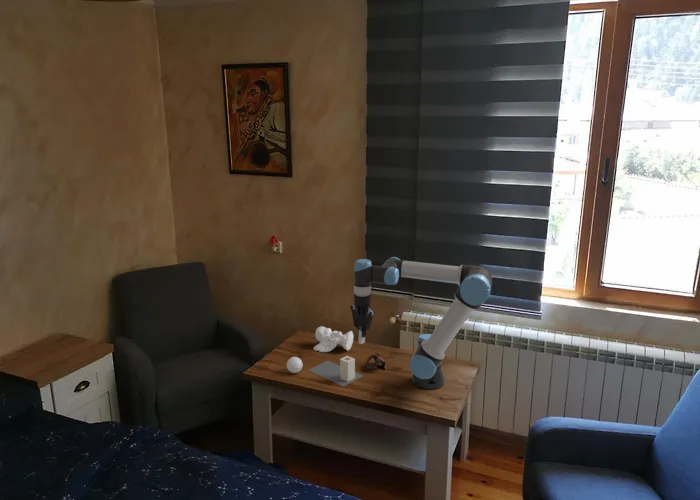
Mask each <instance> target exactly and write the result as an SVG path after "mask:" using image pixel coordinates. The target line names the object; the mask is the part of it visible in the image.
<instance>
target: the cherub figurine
mask: <svg viewBox="0 0 700 500" xmlns="http://www.w3.org/2000/svg"><path fill="white" fill-rule="evenodd" d="M314 336H315V339H316V340H317V341H319V343H318V344H316V345H314V347H313V350H314V351H316V352H317V351H319V352H320V353H329V352H331V351H332V350H334V349H335V348H336V347H337V345H341V347H342V348H343V349H344V350H346V351H350V349H351V348H352V346H353V343H354V332H353V331H352V330H350V331H347V332H346V333H344V334H343V333H342V331H337V330H333V331H332V329H331V328H330V327H325V326H323V325H321V326H319V327H317V328H316V329H315V334H314Z"/></svg>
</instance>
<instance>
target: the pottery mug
mask: <svg viewBox="0 0 700 500" xmlns="http://www.w3.org/2000/svg"><path fill="white" fill-rule="evenodd" d="M372 359H373V360H374V362H373V363H369V362H370V360H372ZM365 365H366V366H365V367H366V369H369V370H373V369H376V370H377V369H378V367H377V365H378V366H381V367H384V370H385V371H386V370H387V369H388V368H387V364H386V361H385V359H384V358H383V357H382V356H381V354H380V353H379V352H375V353H374V354H371V355H370V356H368V357H367V358H366V361H365Z"/></svg>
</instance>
